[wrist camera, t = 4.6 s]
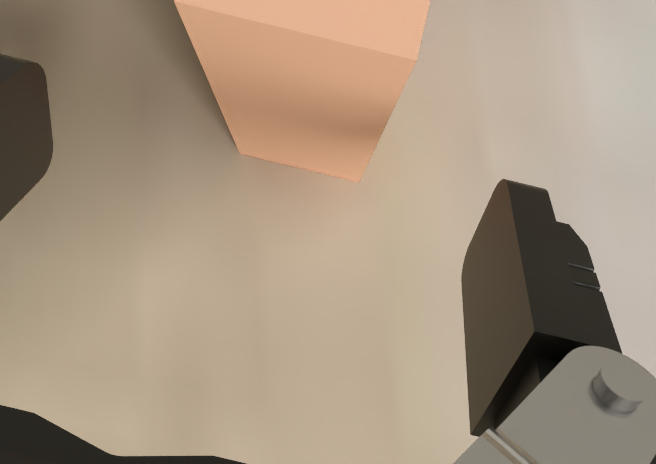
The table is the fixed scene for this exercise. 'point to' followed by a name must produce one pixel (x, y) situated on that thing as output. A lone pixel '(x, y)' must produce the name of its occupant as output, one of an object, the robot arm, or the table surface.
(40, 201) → the table surface
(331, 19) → the peg
